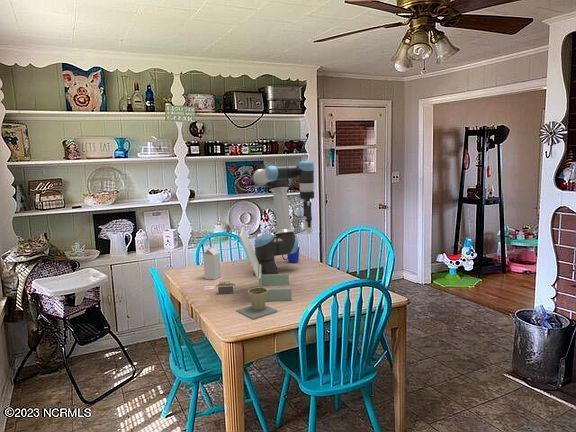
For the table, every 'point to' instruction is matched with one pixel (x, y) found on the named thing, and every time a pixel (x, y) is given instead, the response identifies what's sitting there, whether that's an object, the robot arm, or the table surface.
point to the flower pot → (258, 298)
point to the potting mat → (256, 312)
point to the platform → (225, 287)
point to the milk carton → (212, 263)
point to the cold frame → (275, 279)
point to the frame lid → (249, 251)
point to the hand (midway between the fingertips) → (307, 231)
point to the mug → (293, 257)
